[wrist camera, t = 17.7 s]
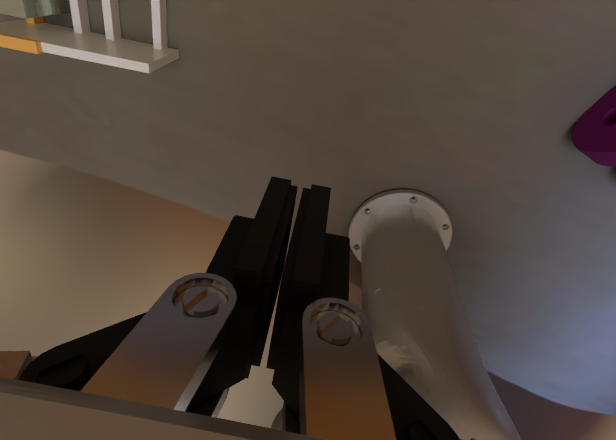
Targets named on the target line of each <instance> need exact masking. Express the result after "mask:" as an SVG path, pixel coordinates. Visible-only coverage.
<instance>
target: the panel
mask: <svg viewBox="0 0 616 440" xmlns="http://www.w3.org/2000/svg"><path fill="white" fill-rule="evenodd" d="M67 12H71V8H70V1H69V0H0V13H1V14H6V15H11V16H16V17H20V18H25V19H28V18H35V17H41V16H48V15H54V14H61V13H67Z"/></svg>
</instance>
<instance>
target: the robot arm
mask: <svg viewBox="0 0 616 440" xmlns="http://www.w3.org/2000/svg"><path fill="white" fill-rule="evenodd" d="M297 188H298V187H297V186H292V185H291V180H288V179H283V178H277V177H271V180H270V182H269V185H268V187H267V189H266V192H265V194H264V197H263V199H262V202H261V204H260V206H259V209H258V211H257V214H256V216H255V218H254V219H252V218H247V217H242V216H237V215H236V216H234V217H233V219H232V221H231V223H230V225H229V227H228V229H227V231H226V233H225V235H224V237H223V239H222V241H221V243H220V245H219V247H218V249H217V251H216V253H215V255H214V257H213V259H212V261H211V263H210V265H209V267H208V269H207V271H206V273H195V274H190V275H186V276H184V277H182V278H180V279H177V280H176V281H175V282H174V283H172V284H171V285H170V286H169V287H168V288H167V289H166V291H165V292H164V293H163V294H162V295H161V297H160V298H159V299H158V300H157V301H156V302H155V304H154V305H153V306H152V307H151V308H150V309H149V311H148V312H146V313H143V314H140V315H138V316H135V317H133V318H130V319H127V320H125V321H122V322H119V323H117V324H114V325H111V326H109V327H106V328H104V329H101V330H98V331H96V332H93V333H90V334H88V335H85V336H83V337H80V338H77V339H75V340H72V341H69V342H67V343H64V344H61V345H59V346H56V347H54V348H52V349H50V350H48V351H46V352H44V353H42V354H41V355H40V356H31V353H30V351H0V440H520V437H519V435H518V433H517V431H516V428H515V426H514V425H513V423H512V421H511V419H510V417H509V415H508V413H507V411H506V409H505V407H504V405H503V403H502V402H501V400H500V398H499V396H498V394H497V392H496V390H495V388H494V386H493V384H492V382H491V380H490V378H489V376H488V373H487V371H486V369H485V366H484V364H483V361H482V359H481V356H480V354H479V351H478V348H477V345H476V343H475V340H474V337H473V334H472V331H471V328H470V325H469V322H468V319H467V316H466V313H465V309H464V306H463V303H462V300H461V296H460V293H459V290H458V287H457V284H456V281H455V278H454V275H453V272H452V268H451V265H450V262H449V259H448V256H447V253H446V251H447V250H448V248H449V246H450V243H451V240H452V232H453V231H452V224H451V221H450V218H449V215H448V213H447V212H446V210H445V208H444V207H443V206H442V205H441V204H440V203H439V202H438V201H437V200H436V199H434V198H433V197H431V196H429V195H427V194H425V193H423V192H419V191H415V190H407V189H398V190H390V191H386V192H383V193H380V194H378V195H375V196H373V197H371V198H370V199H368V200H367V201H366V202H364V203H363V204H362V205H361V206H360V207H359V208H358V209H357V211H356V212H355V214H354V215H353V217H352V220H351V222H350V226H349V237H344V236H339V235H334V234H328V233H326V225H327V216H328V208H329V200H330V191H331V188H328V187H323V186H318V185H313V184H312V187H311V189H307V188H303V192H302V196H301V200H300V204H299V208H298V212H297V216H296V221H295V225H294V229H293V233H292V237H291V241H290V245H289V249H288V253H287V247H288V241H289V235H290V229H291V224H292V218H293V212H294V206H295V200H296V194H297ZM411 197H413V198H411ZM366 208H369V209H366ZM350 247H351V250H352V252H353V254H354V255H355V256H356V258H357V259H358V260H359V261H360V262H361V269H362V310H360V309H359V308H358V307H357V306H355V305H354V304H352V303H350V302H348V296H349V295H348V294H349V257H350ZM286 253H287V257H286ZM285 259H286V261H285ZM284 264H285V265H284ZM283 269H284V270H283ZM282 273H283V274H282ZM281 277H282V279H281ZM280 282H281V284H280ZM279 286H280V290H279ZM278 290H279V296H278V302H277V308H276V314H275V320H274V326H273V332H272V337H271V343H270V350H269V355H268V362H267V368H270V369H275V371H274V376H273V381H272V385H273V386H274V388H275V389H276V390H277V392H278V393H279V395H280V396H281V397H282V399H283V400H284V402H283V408H282V409H281V410H280V411H279V412H278V414H277V415H276V417H275V419H274V420H273V423H272V426H271V428H265V427H261V426H256V425H251V424H245V423H240V422H235V421H230V420H225V419H220V418H217V416H218V414H219V412H220V410H221V408H222V406H223V404H224V402H225V400H226V398H227V394H228V391H229V387H231V386H233V385H235V384H236V383H238V382H240V381H242V380H243V379H245V378H248V376H249V373H250V369H251V365H254V366H260V363H261V358H262V355H263V351H264V347H265V343H266V339H267V334H268V331H269V326H270V322H271V318H272V314H273V310H274V306H275V302H276V298H277V293H278Z"/></svg>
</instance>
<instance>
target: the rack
mask: <svg viewBox="0 0 616 440" xmlns="http://www.w3.org/2000/svg"><path fill="white" fill-rule="evenodd" d="M69 1H70V8H71V14H72V21H73V27H74V28H69V27H64V26H59V25H54V24H49V23H45V21H44V16H41V17H35V18H28V19H21V20H14V21H7V22H1V23H0V47H5V48H10V49H15V50H20V51H25V52H30V53H35V54H41V53H43V52H46V53H51V54H56V55H61V56H66V57H71V58H76V59H81V60H86V61H91V62H96V63H101V64H106V65H111V66H116V67H121V68H125V69H130V70H135V71H140V72H145V73H151V72H153V71H155V70H157V69H159V68H161V67H162V66H164V65H166V64H168V63H170V62H172V61H174V60H176V59H178V58H179V50H177V49H172V48H168V44H167V13H166V0H151V8H152V28H153V44H148V43H143V42H138V41H133V40H128V39H123V38H122V37H121V26H120V16H119V5H118V0H102V8H103V17H104V25H105V34H106V35H103V34H98V33H93V32H91V29H90V22H89V14H88V6H87V0H69Z"/></svg>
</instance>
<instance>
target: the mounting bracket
mask: <svg viewBox="0 0 616 440" xmlns="http://www.w3.org/2000/svg"><path fill="white" fill-rule="evenodd" d="M572 140H573V143H574V145H575V146H576V147H577V148H578V149H579V150H580V151H581V152H583V153H584V154H585V155H586V156H588V157H589V158H590V159H591V160H593V161H594V162H596V163H597V164H600V165H606V166H616V87H615V88H613V89H611V90H610V91H608V92H607V93H606V94H605V95H603V96H602V97H601V98H600V99H599V100H598V101H597V102H596V103H595V104H593V105H592V106H591V107H590V108H589V109H588V110H587V111H586V112H585V113H583V114H582V116H581V117H580V118H579V120H578V122H577V123H576V125H575V128H574V130H573V135H572Z"/></svg>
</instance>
